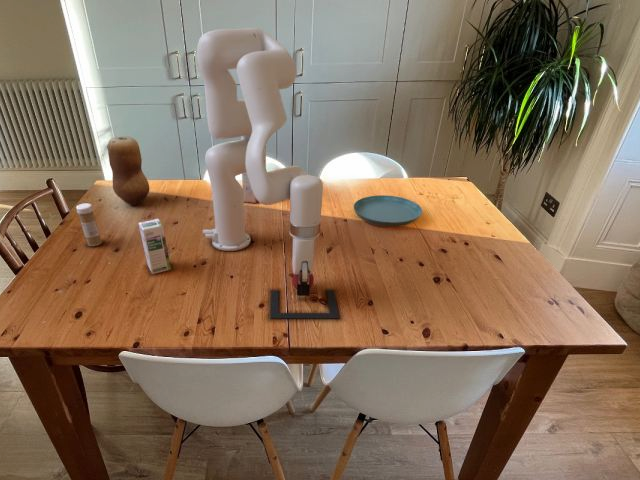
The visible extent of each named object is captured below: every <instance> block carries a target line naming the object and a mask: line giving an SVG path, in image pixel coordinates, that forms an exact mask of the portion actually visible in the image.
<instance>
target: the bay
mask: <svg viewBox="0 0 640 480" xmlns="http://www.w3.org/2000/svg"><path fill="white" fill-rule="evenodd" d="M325 291H326V298H327V303H328V304H327V305H328V310H329V312H279V290H278V289H271V290H270V317H269V318H270V320H339V319H340V315H339V311H338V305H337V301H336V300H337V299H336V294H335V290H334V289H326V290H325Z"/></svg>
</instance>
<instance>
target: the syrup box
mask: <svg viewBox="0 0 640 480" xmlns="http://www.w3.org/2000/svg"><path fill="white" fill-rule="evenodd" d="M138 228H139V232H140V237H141V240H142V241H141V242H142V246H143V250H144V255H145V259H146V265H147V267H148V269H149V270H150V273H151V274H152V275H155V274H159V273H162V272H163V273H164V272H166V271H171V270H172V265H171V260H170V256H169V250H168V245H167V240H166V234H165V229H164V225H163V223H162V222H161V220H160V219H159V218H155V219H151V220H146V221H140V222H138Z"/></svg>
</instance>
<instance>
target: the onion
mask: <svg viewBox="0 0 640 480" xmlns="http://www.w3.org/2000/svg"><path fill="white" fill-rule="evenodd" d="M300 272H302V270H300ZM307 272H308V270H307ZM301 278H302V275H301ZM297 282H298V274H296V275H295V274H294V273H292V278H291V283H292V286H293V287H294V289H296V290H297ZM309 282H310V288H309V290H310V289H311V288H312V287H313V285H314V282H315V277H314V275H313V273H312V274H309Z"/></svg>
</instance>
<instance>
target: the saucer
mask: <svg viewBox="0 0 640 480" xmlns="http://www.w3.org/2000/svg"><path fill="white" fill-rule="evenodd" d="M353 210H354V213H355V214H356V215H357V216H358V217H359V218H360V219H361V220H363V221H364V222H366V223H368V224H370V225H373V226H378V227H385V228H397V227H403V226H404V227H405V226H407V225H410V224H412V223H415V222H416V221H417V220H418V219H419V218H420V217H421V216H422V214H423V209H422V207H421V205H419V204H418V203H416V202H415V201H413V200H410V199H408V198H405V197H402V196H395V195H385V194H381V195H378V194H377V195H370V196H365V197H361V198H359V199H357V200H356V201H355V202H354V204H353Z"/></svg>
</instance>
